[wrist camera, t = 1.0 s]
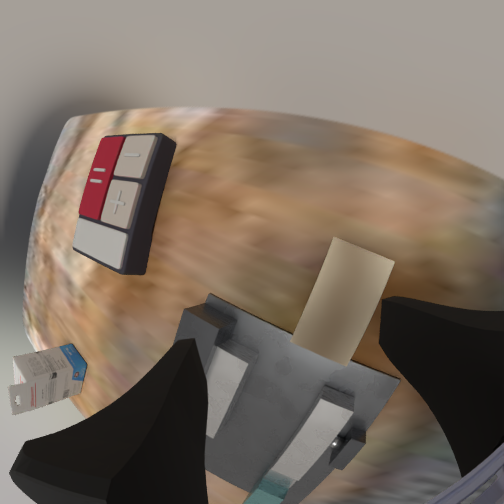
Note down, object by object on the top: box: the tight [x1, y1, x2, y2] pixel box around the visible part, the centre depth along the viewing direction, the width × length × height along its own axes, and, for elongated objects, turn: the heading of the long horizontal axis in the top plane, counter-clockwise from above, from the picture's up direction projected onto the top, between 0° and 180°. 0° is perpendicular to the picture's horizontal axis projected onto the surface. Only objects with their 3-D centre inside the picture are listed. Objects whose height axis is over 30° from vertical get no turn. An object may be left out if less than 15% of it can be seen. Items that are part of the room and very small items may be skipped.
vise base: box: [173, 293, 401, 504], centre depth 21 cm, size 19×22×4 cm
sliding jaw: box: [243, 386, 355, 504], centre depth 19 cm, size 3×18×4 cm, turn 159°
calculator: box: [73, 133, 176, 275], centre depth 28 cm, size 11×4×15 cm
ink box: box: [8, 344, 87, 415], centre depth 27 cm, size 8×5×15 cm, turn 148°
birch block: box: [290, 237, 395, 367], centre depth 18 cm, size 4×7×6 cm, turn 159°
